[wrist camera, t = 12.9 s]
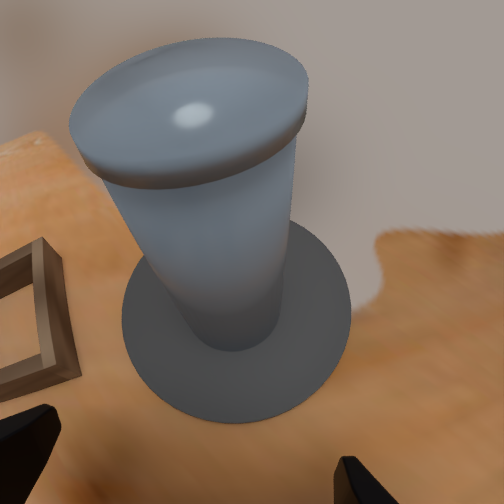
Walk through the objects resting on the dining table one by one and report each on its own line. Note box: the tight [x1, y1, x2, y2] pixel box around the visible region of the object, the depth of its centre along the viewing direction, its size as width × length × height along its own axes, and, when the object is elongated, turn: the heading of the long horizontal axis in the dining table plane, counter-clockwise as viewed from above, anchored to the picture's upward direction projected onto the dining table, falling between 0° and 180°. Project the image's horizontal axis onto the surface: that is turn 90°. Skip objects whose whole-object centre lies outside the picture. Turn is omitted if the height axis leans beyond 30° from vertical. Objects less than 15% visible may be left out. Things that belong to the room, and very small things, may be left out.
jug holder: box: [0, 237, 82, 402], centre depth 18 cm, size 10×10×3 cm
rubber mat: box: [122, 220, 351, 423], centre depth 19 cm, size 14×14×1 cm
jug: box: [69, 38, 308, 352], centre depth 13 cm, size 8×6×14 cm
